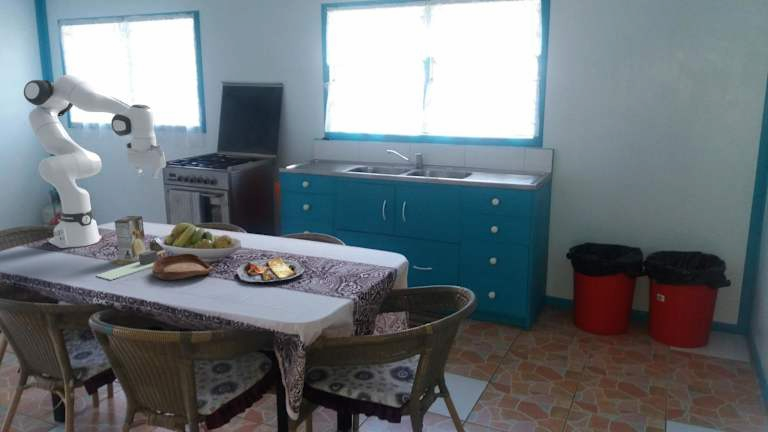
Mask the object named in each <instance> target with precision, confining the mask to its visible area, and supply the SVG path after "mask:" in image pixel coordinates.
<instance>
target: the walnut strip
mask: <svg viewBox="0 0 768 432" xmlns="http://www.w3.org/2000/svg"><path fill="white" fill-rule="evenodd" d="M160 239H163V237H161V238H160ZM156 240H157V239H154V240H151V241H149V248H148V249H146V252H148V251H151V250H153V251H157V256H160V255H163V254H166V253H167V252H166V251H165V250H163V248H162V247H161V246H160V245H159V244H158V243H157V242H156ZM109 262H110V263H113V264H116V265H120V266H123V267H124V266H127V265H130V264H133V263H136V262H140V261H139V259H137V260H135V261H121V260H120V259H119V257H118V258H115V259H111V260H109Z"/></svg>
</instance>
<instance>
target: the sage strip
mask: <svg viewBox="0 0 768 432" xmlns="http://www.w3.org/2000/svg"><path fill="white" fill-rule="evenodd" d="M156 260H158V255H157V251H153V250H151V251H148V252H144V253H141V254H139V261H138V262H135V263H131V264H128V265H125V266H124V265H123V266H121V267H117V268H115V269H112V270H111V269H110V270H108V271H105V272H102V273H99V274H96V275H95V277H96V276H97V277H96V278H99V277H101V278H100V279H103V278H104V280H107V279H108V280H107V281H110V280H112V281H114V280H113V279H115V280H117V279H116V278H118V279H120V278H119V277H121V278H123V277H122V276H124V277H127V276H129V274H130V275H133V274H136V273H139V272H142V271H144V270H145V271H146V270H148V269H151V268H153V264H154V262H155V261H156ZM135 272H136V273H135ZM132 273H133V274H132ZM126 275H127V276H126Z"/></svg>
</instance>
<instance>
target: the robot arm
mask: <svg viewBox="0 0 768 432" xmlns="http://www.w3.org/2000/svg"><path fill="white" fill-rule="evenodd" d="M23 96H24V98H25V100H26V101H27V102H29V103H30V104H32V105H34V106H36V107H35V108H34V109H32V110H31V111H30V112H29V114H28V119H29V123H30V126H31V128H32V131H33V132H34V134H35V136H36V138H37V139H38V141H39V143H40V144H41V146H42V148H43V149H44V150H45V151H46V152H47V153H49V154H50V155H52V156H49V157H46V158H44V159H42V160H40V162H39V164H38V174H39V175H40V177H41V178H42V179H43V180H44V181H45V182H47V183H49V184H50V185H52V186H53V187H54V188H55V190H56V192H57V193H58V195H59V199H60V205H61V209H62V210H61V211H62V212H59V214H60V215H59V216H60V222H59V223H58V224H57V225H56V226H55V227H54V228H53V232H52V233H53V238H49V239H48V243H49V244H52V245H54V246H56V247H57V248H60V249H66V248H80V247H86V246H90V245H94V244H96V243H98V242H100V240H101V239H102V235H100V234H99V228H98V225H97V221H96V220H95V219H94V212H93V211H94V210H93V209H92V207H91V199H90V198H91V197H90V193H89V192H88V191H87V190H86V189H84V188H82V187H80V186H78V185H77V183H76V180H78V179H84V178H89V177H93V176H94V175H97V174H99V173H100V172H101V170H102V166H103V164H102V160H101V158H100V156H99V155H98V154H97V153H96V152H92V151H90V150H88V149H85V148H83V147H82V146H80V145H79V144H78V143H76V141H74V140H73V139H72V138H71V137H70V135H69V133H68V132H67V131H66V129H65V127H64V126H63V124H62V122H61V121H60V119H59V117H62V116H64V115H66V113H67V112H70V110H71V109H72V107H75V108H77V109H78V110H82V111H84V112H89V113H108V114H112V115H113V117H112V118H111V122H110V123H111V129H112V131H113V132H114V133H115V134H116V135H117V136H119V137H130V136H131V137H132V140H131V141H129V142H127V143H126V144H125V147H126V149H127V150H126V155H127V156H126V157H127V158H126V159H127V162H128V164H129V166H132V167H135V170H136V172H137V175H138V176H137V177H140V178H143V177H144V176H145V173H144V171H143V170H142V168H149V169H150V168H151V169H153V171H154V172H153V174H152V179H155V180H157V179H159V174H160V170H161V169H163V168H166V166H167V161H166V157H165V152H164V151H163V148H162V147H161V146H160V145H157V139H156V134H155V126H156V125H155V120H154V113H153V111H152V108H151V107H149V106H148V105H145V104H133V105H131V106H130V105H129V104H127V103H125V102H123V101H122V100H119V99H118V98H115V97H114V96H111V95H109V94H107V93H105V92H103V91H101V90H99V89H98V88H96V87H94V86H93V85H91V84H90V83H88V82H86V81H84V80H83V79H81V78H79V77H77V76H74V75H71V74H64V75H62V76H60V77H59V78H58V79H57V80H56V82H51V80H49V79H45V80H43V79H33V80H30V81H29V82H27V83H26V84H25V86H24V88H23Z"/></svg>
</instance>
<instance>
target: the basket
mask: <svg viewBox="0 0 768 432" xmlns="http://www.w3.org/2000/svg"><path fill="white" fill-rule="evenodd" d="M212 269H213V266H212V265H209V264H208V263H206V262H205V261H204V260H203V259H202V258H200V256H199V255H197V254H194V253H189V252H188V253H180V254H176V255H175V254H174V255H171V254H169V255H166V256H164V257H160V258H159V259H158V260H156V261H155V262H154V264H153V267H152V275H153V276H155V277H156V278H158V279H161V280H163V281H164V280H166V281H174V280H175V281H176V280H180V279H181V280H182V279H184V278H191V277H194V276H205V275H207V274H210V272H211V271H212Z"/></svg>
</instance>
